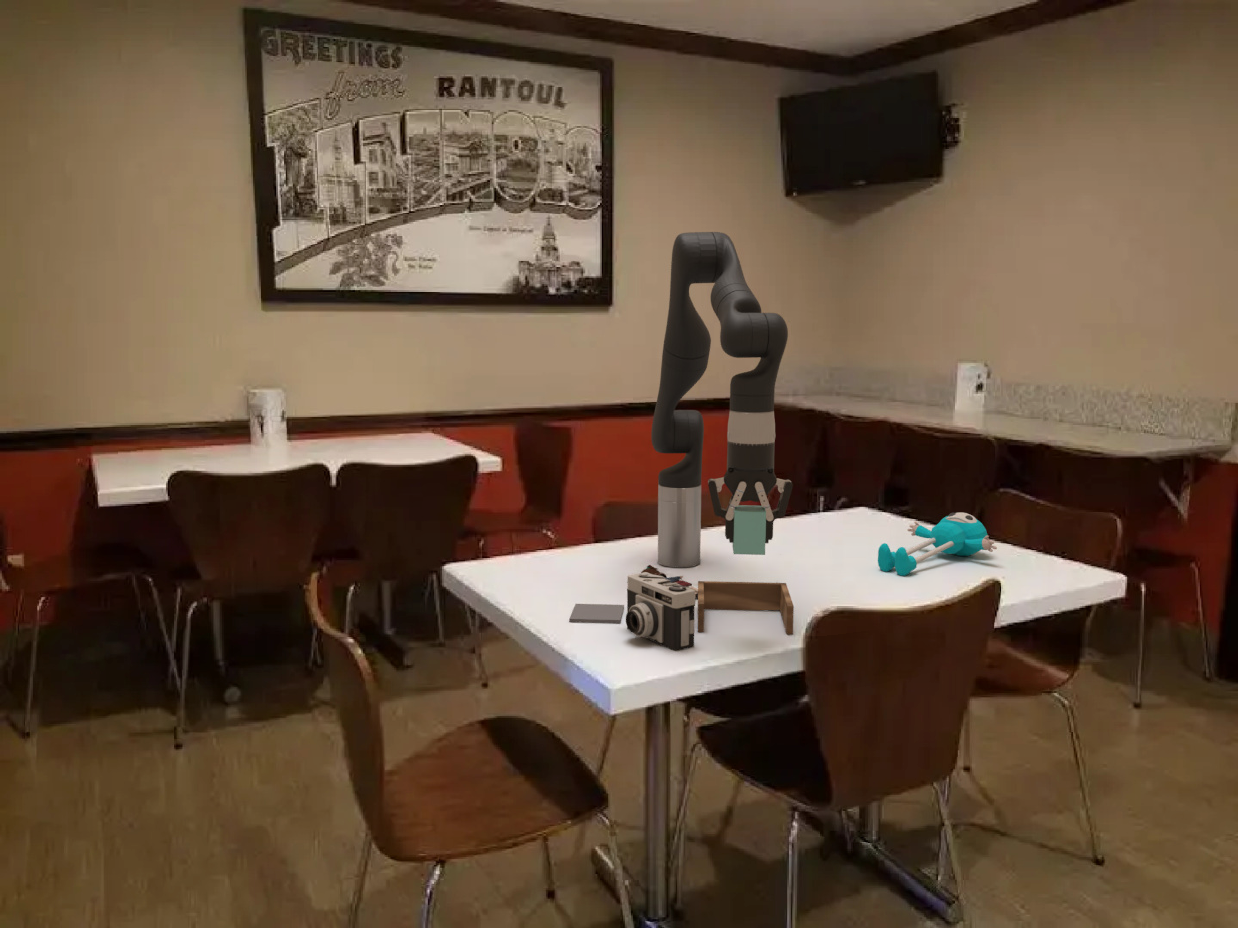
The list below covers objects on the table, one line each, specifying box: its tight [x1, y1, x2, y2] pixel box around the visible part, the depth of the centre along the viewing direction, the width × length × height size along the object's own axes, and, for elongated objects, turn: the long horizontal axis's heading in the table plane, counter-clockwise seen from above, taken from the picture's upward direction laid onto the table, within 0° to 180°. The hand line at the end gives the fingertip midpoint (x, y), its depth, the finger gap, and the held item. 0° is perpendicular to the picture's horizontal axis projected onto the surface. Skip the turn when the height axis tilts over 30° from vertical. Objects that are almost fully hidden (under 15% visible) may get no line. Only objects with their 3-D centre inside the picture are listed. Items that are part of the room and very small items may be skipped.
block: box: [732, 504, 766, 556], centre depth 158 cm, size 5×5×7 cm
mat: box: [568, 603, 625, 624], centre depth 175 cm, size 9×9×1 cm
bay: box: [697, 580, 795, 635], centre depth 171 cm, size 14×16×5 cm
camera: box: [625, 572, 696, 652], centre depth 161 cm, size 14×8×10 cm, turn 34°
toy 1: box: [640, 564, 698, 601], centre depth 189 cm, size 14×5×15 cm
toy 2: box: [877, 512, 998, 577], centre depth 211 cm, size 22×10×30 cm
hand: (748, 541), depth 158 cm, fingers closed on block, 5 cm apart
